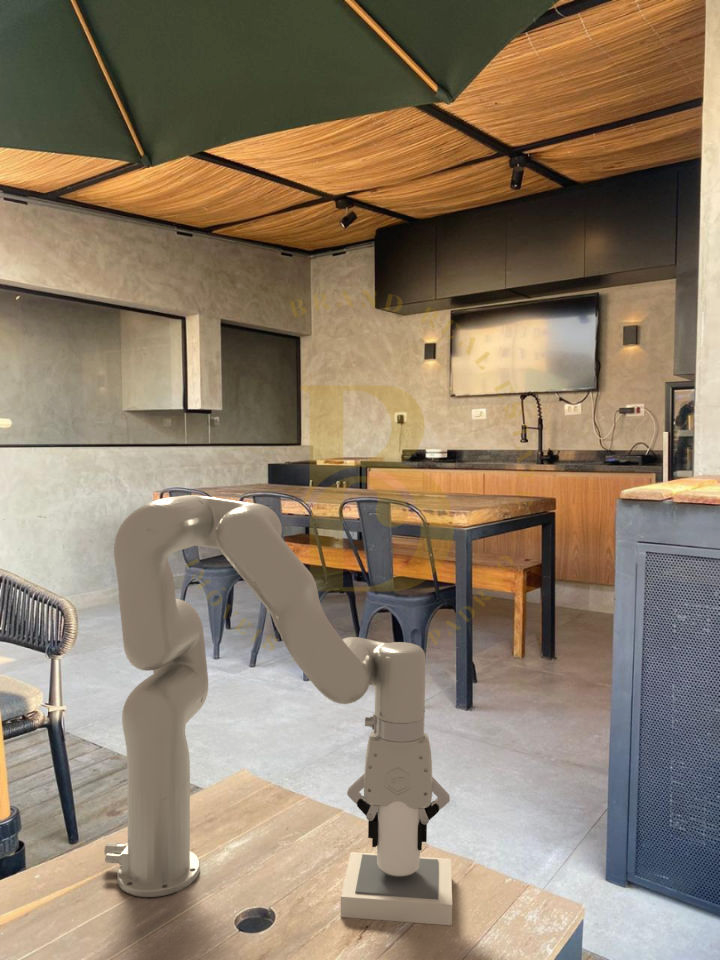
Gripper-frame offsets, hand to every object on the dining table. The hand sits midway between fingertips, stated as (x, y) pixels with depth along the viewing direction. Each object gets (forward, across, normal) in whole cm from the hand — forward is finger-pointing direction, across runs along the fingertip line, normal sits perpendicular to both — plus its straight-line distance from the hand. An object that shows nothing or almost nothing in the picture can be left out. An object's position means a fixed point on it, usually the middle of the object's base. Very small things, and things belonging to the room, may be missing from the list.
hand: (397, 843), depth 111 cm
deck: (+8, 0, 0) cm, 8 cm away
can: (+4, 0, 0) cm, 4 cm away
